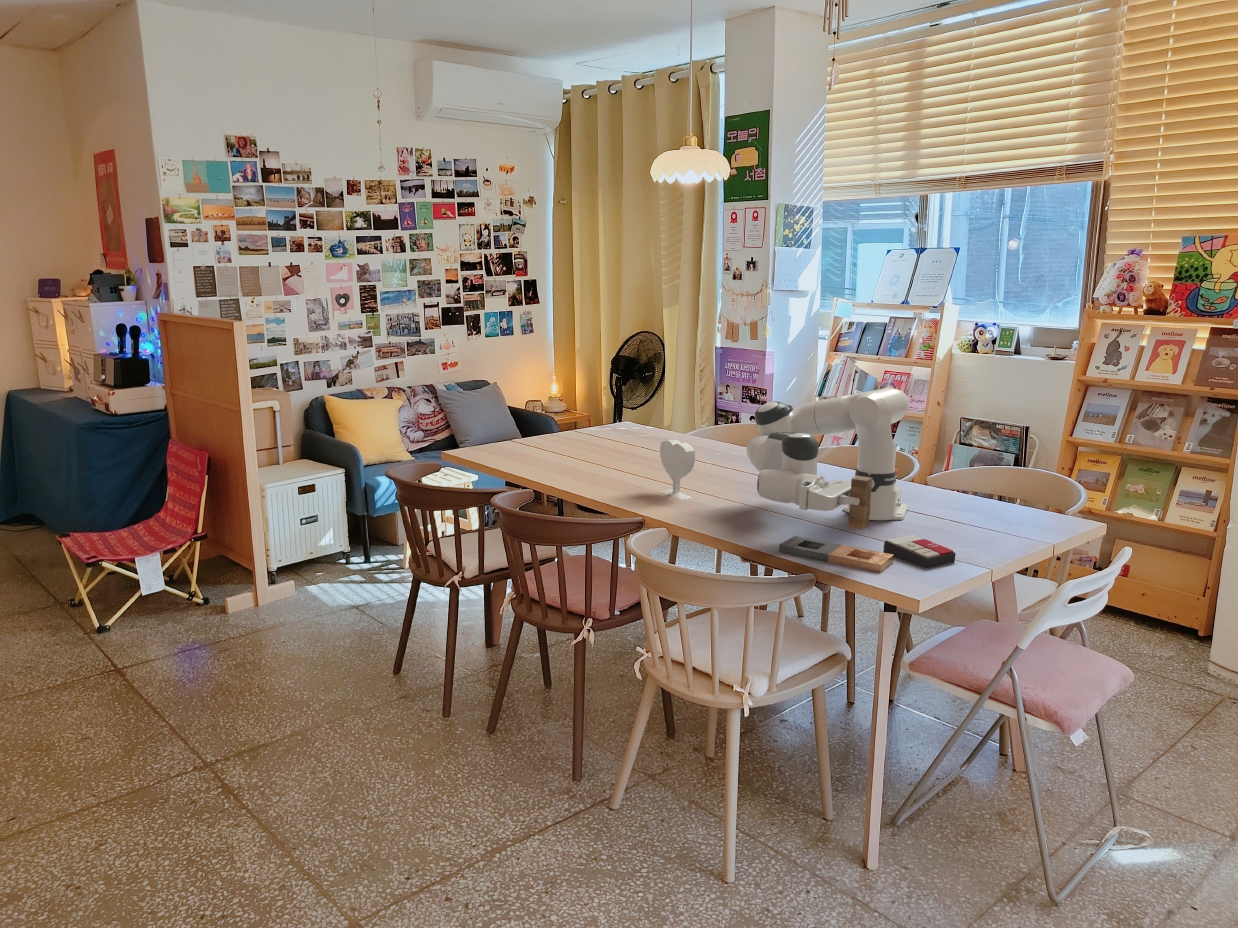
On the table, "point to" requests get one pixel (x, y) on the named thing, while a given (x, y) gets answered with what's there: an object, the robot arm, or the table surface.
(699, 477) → the table surface
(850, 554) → the peg board
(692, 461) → the heart sculpture
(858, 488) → the walnut peg
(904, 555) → the calculator
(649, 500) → the table surface
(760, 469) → the robot arm
